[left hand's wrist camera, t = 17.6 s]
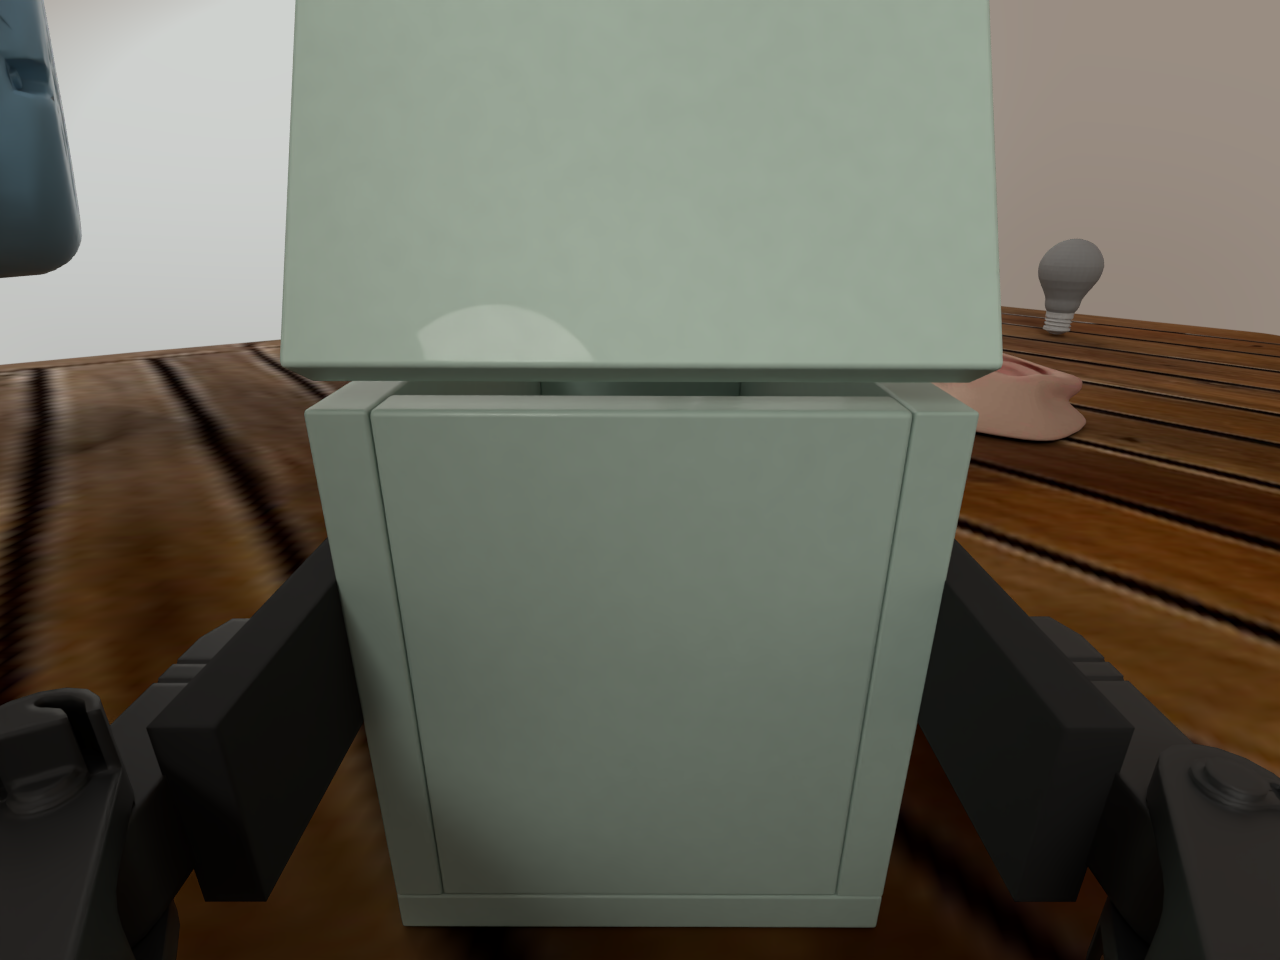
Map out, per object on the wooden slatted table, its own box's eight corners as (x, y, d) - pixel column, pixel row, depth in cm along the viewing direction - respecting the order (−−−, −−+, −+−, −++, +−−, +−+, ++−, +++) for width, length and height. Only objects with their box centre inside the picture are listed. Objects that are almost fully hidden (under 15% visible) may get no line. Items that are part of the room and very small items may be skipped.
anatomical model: (1119, 382, 38) (899, 364, 42) (1100, 449, 39) (891, 425, 43) (1081, 342, 49) (912, 331, 53) (1068, 396, 50) (904, 381, 55)
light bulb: (1038, 337, 73) (1059, 239, 70) (1016, 328, 79) (1035, 237, 75) (1097, 339, 73) (1122, 240, 69) (1071, 329, 78) (1093, 237, 74)
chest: (530, 536, 29) (513, 279, 25) (749, 537, 29) (768, 280, 25) (402, 927, 13) (300, 410, 9) (876, 929, 13) (981, 412, 9)
